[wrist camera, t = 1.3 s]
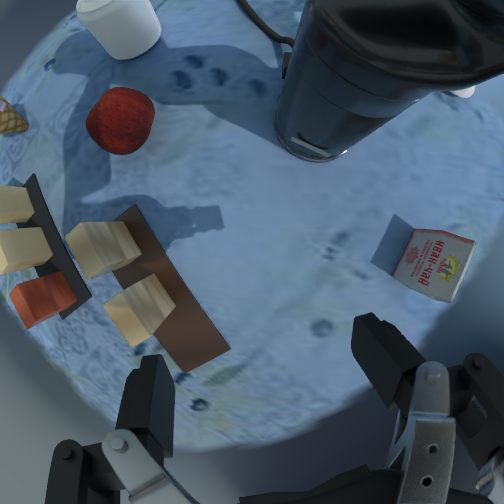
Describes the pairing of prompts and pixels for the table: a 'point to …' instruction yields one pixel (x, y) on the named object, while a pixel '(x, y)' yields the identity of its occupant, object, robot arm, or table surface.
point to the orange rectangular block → (42, 298)
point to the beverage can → (121, 25)
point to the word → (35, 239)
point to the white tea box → (434, 263)
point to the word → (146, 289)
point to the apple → (121, 120)
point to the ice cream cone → (10, 119)
